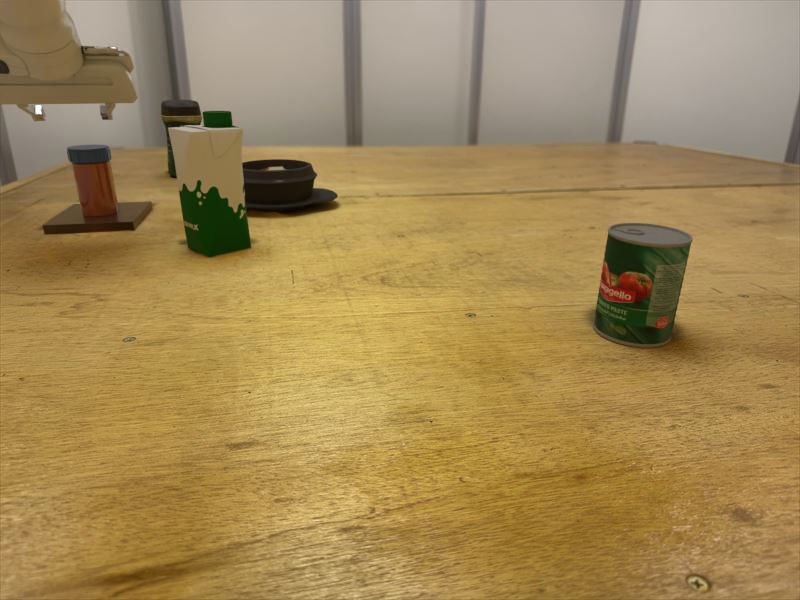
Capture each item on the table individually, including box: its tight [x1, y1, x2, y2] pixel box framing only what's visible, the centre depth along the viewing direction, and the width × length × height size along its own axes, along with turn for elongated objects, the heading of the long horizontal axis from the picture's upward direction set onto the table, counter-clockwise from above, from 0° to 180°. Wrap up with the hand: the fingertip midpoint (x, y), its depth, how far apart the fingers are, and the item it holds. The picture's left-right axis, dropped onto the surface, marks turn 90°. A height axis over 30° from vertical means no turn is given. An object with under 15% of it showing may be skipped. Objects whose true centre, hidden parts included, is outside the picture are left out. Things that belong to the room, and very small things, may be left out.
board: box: [41, 200, 153, 235], centre depth 100 cm, size 14×16×2 cm
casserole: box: [242, 158, 339, 213], centre depth 110 cm, size 25×19×8 cm
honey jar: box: [70, 160, 119, 216], centre depth 97 cm, size 6×6×11 cm
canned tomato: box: [592, 222, 694, 349], centre depth 57 cm, size 8×8×11 cm
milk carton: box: [168, 110, 252, 258], centre depth 82 cm, size 9×9×20 cm
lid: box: [66, 144, 112, 163], centre depth 96 cm, size 6×6×2 cm
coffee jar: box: [160, 99, 203, 178], centre depth 140 cm, size 10×8×19 cm
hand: (74, 117), depth 86 cm, fingers open, 8 cm apart
